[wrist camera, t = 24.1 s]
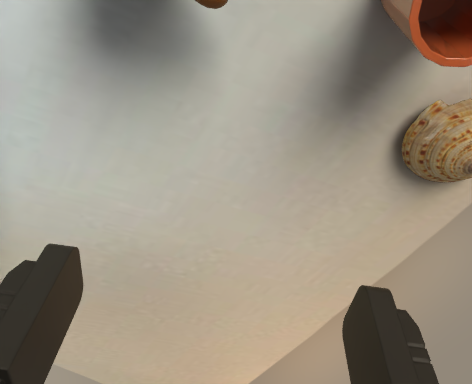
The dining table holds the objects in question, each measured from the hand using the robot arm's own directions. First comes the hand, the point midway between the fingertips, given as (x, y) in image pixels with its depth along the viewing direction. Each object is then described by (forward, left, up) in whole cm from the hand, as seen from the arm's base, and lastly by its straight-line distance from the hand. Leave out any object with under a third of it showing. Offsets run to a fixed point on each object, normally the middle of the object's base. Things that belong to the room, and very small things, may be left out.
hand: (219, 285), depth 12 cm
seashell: (+12, -14, -28) cm, 33 cm away
